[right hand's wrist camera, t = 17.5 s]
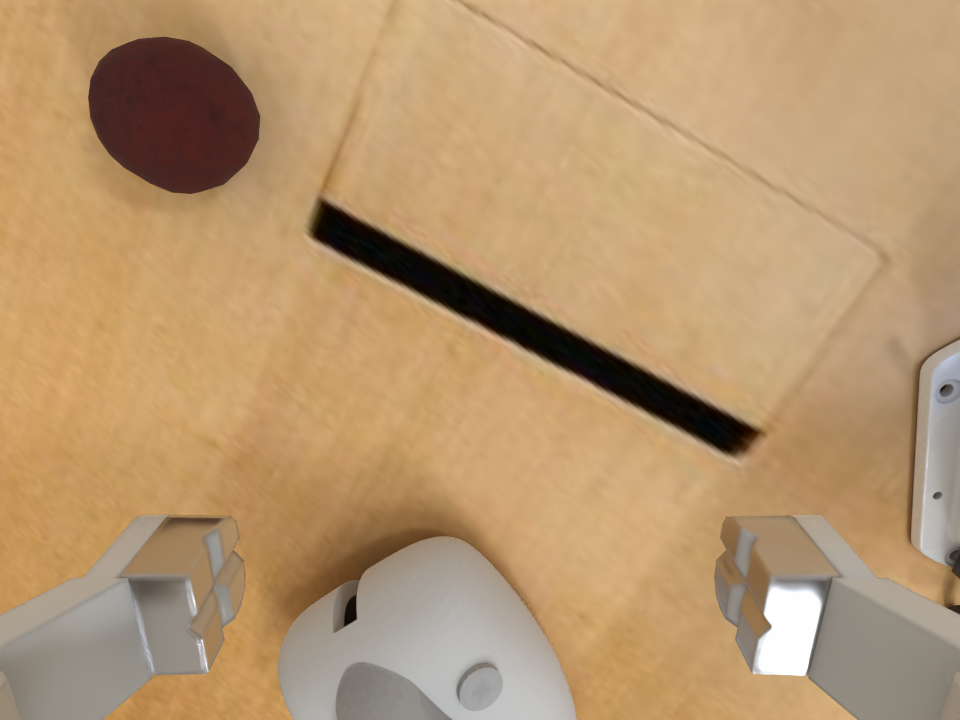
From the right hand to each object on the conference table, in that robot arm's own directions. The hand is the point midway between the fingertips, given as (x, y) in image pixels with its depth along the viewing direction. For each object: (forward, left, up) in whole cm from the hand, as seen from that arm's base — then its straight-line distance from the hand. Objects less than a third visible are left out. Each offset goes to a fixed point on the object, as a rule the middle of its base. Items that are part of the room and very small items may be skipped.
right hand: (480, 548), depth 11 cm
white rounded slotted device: (-31, +2, -29) cm, 43 cm away
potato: (+7, +15, -29) cm, 34 cm away
